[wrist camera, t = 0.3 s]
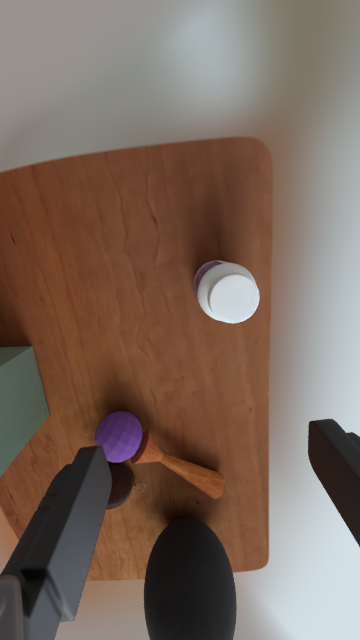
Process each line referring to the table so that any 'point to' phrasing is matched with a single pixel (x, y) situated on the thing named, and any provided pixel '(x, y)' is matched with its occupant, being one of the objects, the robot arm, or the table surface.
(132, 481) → the compass
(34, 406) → the trash can
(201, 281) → the pill bottle
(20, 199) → the table surface
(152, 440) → the kendama
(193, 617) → the decorative egg
